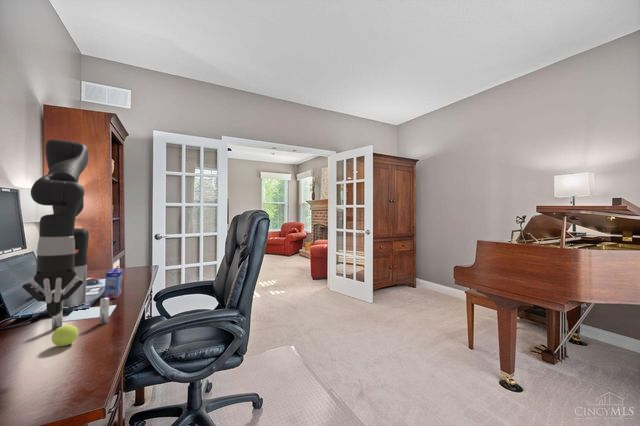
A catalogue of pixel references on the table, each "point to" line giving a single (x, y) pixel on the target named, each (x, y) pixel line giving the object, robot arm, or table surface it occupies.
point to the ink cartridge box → (113, 283)
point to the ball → (64, 335)
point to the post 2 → (104, 310)
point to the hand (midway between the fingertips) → (54, 315)
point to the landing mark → (87, 313)
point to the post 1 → (57, 320)
